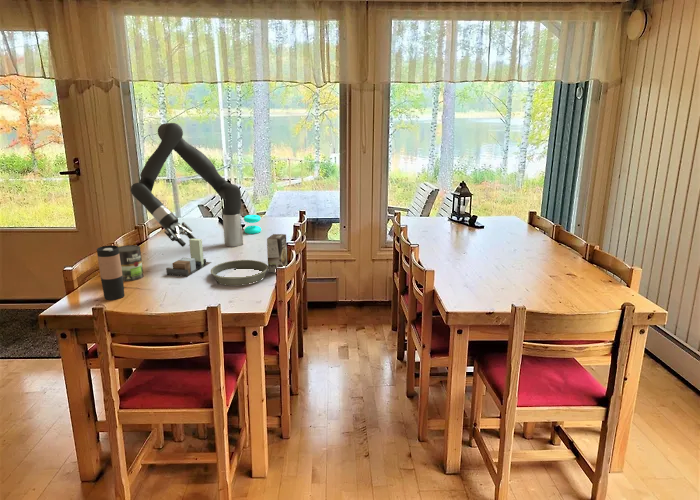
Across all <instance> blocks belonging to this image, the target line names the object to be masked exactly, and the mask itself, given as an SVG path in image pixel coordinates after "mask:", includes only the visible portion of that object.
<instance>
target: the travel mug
mask: <svg viewBox="0 0 700 500" xmlns="http://www.w3.org/2000/svg"><path fill="white" fill-rule="evenodd" d="M118 247H119V246H118V245H103V246H100V247H97V248H96V254H97V263H98V268H99V275H100V282H101V286H102V292H103V296H104V300H107V301H116V300H117V301H118V300H120V299H122V298H124V297H125V287H124V285H125V284H124V281H123V275H122V268H121V262H120V255H119V248H118Z"/></svg>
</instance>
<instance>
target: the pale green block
mask: <svg viewBox="0 0 700 500" xmlns="http://www.w3.org/2000/svg"><path fill="white" fill-rule="evenodd" d="M188 242H189V254H190V258H195V261H200V262H201V263H202V265H203V264H204V259H205V258H204V249H203V240H202V238H196V239H189V240H188Z"/></svg>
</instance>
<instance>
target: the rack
mask: <svg viewBox="0 0 700 500" xmlns="http://www.w3.org/2000/svg"><path fill="white" fill-rule="evenodd" d="M203 259H204V264H203V265H202V263H201V262H200V261H195V263H196V269H195V270H193V271H192V272H190V273H188V270H187V269H176V268H173V267H166V269H165V270H166V275H167V276H170V277H171V276H173V277H183V278H184V277H185V278H188V277H189V276H192V275H193V274H195V273H197V272H198V271H200V270H202V269H203V268H205V267H207V266H208V265H210V264H212V262H211V261H207V259H206V258H203Z"/></svg>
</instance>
